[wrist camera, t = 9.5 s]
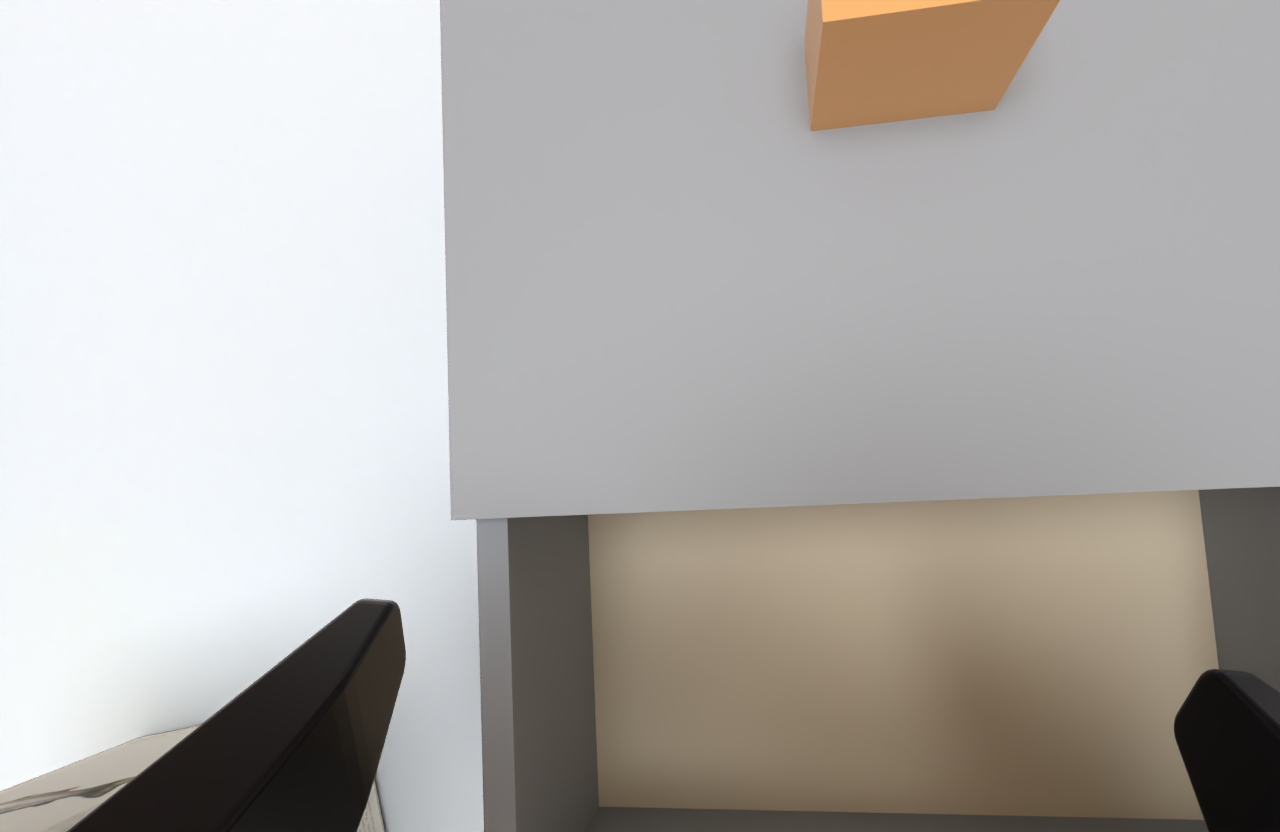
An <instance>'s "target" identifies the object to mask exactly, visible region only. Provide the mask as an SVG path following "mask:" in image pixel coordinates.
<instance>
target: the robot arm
mask: <svg viewBox="0 0 1280 832" xmlns="http://www.w3.org/2000/svg"><path fill="white" fill-rule="evenodd" d="M405 660H406V651H405V643H404V636H403V629H402V621H401V614H400V609H399V606H398V605H397V603H396V602H394V601H390V600H378V599H361V600H359V601H357V602H355V603H354V604H352V605H351V606H350V607H349V608H347V609H346V610H345V611H344V612H342V613H341V614H340V615H339V616H337V617H336V618H335V619H334V620H332V621H331V622H330V623H328V624H327V625H326V626H325V627H323V628H322V629H321V630H320V631H318V632H317V633H316V634H315V635H313V636H312V637H311V638H310V639H308V640H307V641H306V642H305V643H303V644H302V645H301V646H299V647H298V648H297V649H296V650H294V651H293V652H292V653H291V654H289V655H288V656H287V657H286V658H284V659H283V660H282V661H281V662H279V663H278V664H277V665H276V666H274V667H273V668H272V669H270V670H269V671H268V672H267V673H265V674H264V675H263V676H262V677H260V678H259V679H258V680H257V681H255V682H254V683H253V684H252V685H250V686H249V687H248V688H247V689H245V690H244V691H243V692H241V693H240V694H239V695H238V696H236V697H235V698H234V699H233V700H231V701H230V702H229V703H228V704H226V705H225V706H224V707H223V708H221V709H220V710H219V711H217V712H216V713H215V714H214V715H212V716H211V717H210V718H209V719H207V720H206V721H205V722H204V723H202V724H201V725H200V726H199V727H197V728H196V729H195V730H194V731H192V732H191V733H190V734H188V735H187V736H186V737H185V738H183V739H182V740H181V741H180V742H178V743H177V744H176V745H175V746H173V747H172V748H171V749H170V750H168V751H167V752H166V753H165V754H163V755H162V756H161V757H159V758H158V759H157V760H156V761H154V762H153V763H152V764H151V765H149V766H148V767H147V768H146V769H144V770H143V771H142V772H141V773H139V774H138V775H137V776H136V777H134V778H133V779H132V780H130V781H129V782H128V783H127V784H125V785H124V786H123V787H122V788H120V789H119V790H118V791H117V792H115V793H114V794H113V795H112V796H110V797H109V798H108V799H107V800H105V801H104V802H103V803H101V804H100V805H99V806H98V807H96V808H95V809H94V810H93V811H91V812H90V813H89V814H88V815H86V816H85V817H84V818H83V819H81V820H80V821H79V822H77V823H76V824H75V825H74V826H72V827H71V828H70V829H69V830H67V831H66V832H357V830H358V827H359V824H360V822H361V819H362V816H363V814H364V811H365V808H366V805H367V802H368V799H369V796H370V792H371V789H372V785H373V782H374V778H375V775H376V771H377V768H378V764H379V760H380V757H381V753H382V749H383V746H384V742H385V739H386V735H387V731H388V728H389V724H390V720H391V717H392V713H393V709H394V706H395V702H396V699H397V695H398V691H399V688H400V684H401V680H402V677H403V673H404V668H405ZM1174 735H1175V739H1176V743H1177V745H1178V748H1179V751H1180V754H1181V757H1182V759H1183V762H1184V765H1185V768H1186V770H1187V773H1188V776H1189V779H1190V782H1191V784H1192V787H1193V790H1194V793H1195V795H1196V798H1197V801H1198V804H1199V806H1200V809H1201V812H1202V815H1203V818H1204V820H1205V823H1206V826H1207V829H1208V831H1209V832H1280V692H1279V691H1277V690H1276V689H1274V688H1273V687H1272V686H1270V685H1269V684H1267V683H1266V682H1264V681H1263V680H1261V679H1260V678H1258V677H1256V676H1255V675H1253V674H1251V673H1248V672H1244V671H1234V670H1222V669H1209V670H1207V671H1205V672H1204V673H1202V674H1201V675H1200V677H1199V678H1198V680H1197V681H1196V683H1195V685H1194V686H1193V688H1192V689H1191V691H1190V693H1189V694H1188V696H1187V698H1186V699H1185V701H1184V703H1183V704H1182V706H1181V707H1180V709H1179V711H1178V712H1177V714H1176V716H1175V720H1174Z"/></svg>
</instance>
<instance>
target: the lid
mask: <svg viewBox="0 0 1280 832" xmlns="http://www.w3.org/2000/svg"><path fill="white" fill-rule="evenodd" d="M440 22H441V68H442V115H443V161H444V208H445V254H446V301H447V347H448V394H449V440H450V487H451V520H466V519H491V518H516V517H540V516H565V515H589V514H614V513H639V512H663V511H688V510H712V509H737V508H762V507H786V506H811V505H835V504H860V503H885V502H909V501H934V500H959V499H983V498H1008V497H1032V496H1057V495H1082V494H1106V493H1131V492H1155V491H1180V490H1205V489H1229V488H1254V487H1278V486H1280V0H440Z"/></svg>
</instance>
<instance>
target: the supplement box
mask: <svg viewBox="0 0 1280 832" xmlns="http://www.w3.org/2000/svg"><path fill="white" fill-rule="evenodd" d="M199 726H200V725H199ZM199 726H194V727H190V728H185V729H180V730H175V731H170V732H165V733H160V734H155V735H149V736H144V737H139V738H136V739H134V740H131V741H128V742H126V743H123V744H121V745H119V746H116V747H114V748H111V749H109V750H106V751H103V752H101V753H98V754H96V755H93V756H90V757H88V758H85V759H83V760H80V761H77V762H75V763H72V764H70V765H67V766H65V767H62V768H60V769H57V770H55V771H52V772H49V773H47V774H44V775H41V776H39V777H36V778H34V779H31V780H28V781H26V782H23V783H21V784H18V785H16V786H13V787H11V788H8V789H5V790H3V791H0V832H66V831H67V830H69V829H70V828H71V827H72V826H74V825H75V824H76V823H77V822H79V821H80V820H81V819H83V818H84V817H85V816H86V815H88V814H89V813H90V812H91V811H93V810H94V809H95V808H96V807H98V806H99V805H100V804H101V803H103V802H104V801H105V800H107V799H108V798H109V797H110V796H112V795H113V794H114V793H115V792H117V791H118V790H119V789H120V788H122V787H123V786H124V785H125V784H127V783H128V782H129V781H130V780H132V779H133V778H134V777H136V776H137V775H138V774H139V773H141V772H142V771H143V770H144V769H146V768H147V767H148V766H149V765H151V764H152V763H153V762H154V761H156V760H157V759H158V758H159V757H161V756H162V755H163V754H165V753H166V752H167V751H168V750H170V749H171V748H172V747H173V746H175V745H176V744H177V743H178V742H180V741H181V740H182V739H183V738H185V737H186V736H187V735H188V734H190V733H191V732H192V731H194V730H195V729H196V728H197V727H199ZM357 832H385V830H384V826H383V821H382V815H381V810H380V804H379V799H378V794H377V790H376V785H375V780H374V782H373V785H372V789H371V792H370V796H369V799H368V802H367V805H366V808H365V811H364V814H363V816H362V819H361V822H360V824H359V827H358V830H357Z"/></svg>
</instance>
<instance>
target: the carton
mask: <svg viewBox="0 0 1280 832" xmlns="http://www.w3.org/2000/svg"><path fill="white" fill-rule="evenodd" d="M477 557H478V598H479V639H480V679H481V720H482V760H483V801H484V832H1209V831H1208V829H1207V826H1206V823H1205V820H1204V818H1203V815H1202V812H1201V809H1200V806H1199V804H1198V801H1197V798H1196V795H1195V793H1194V790H1193V787H1192V784H1191V782H1190V779H1189V776H1188V773H1187V770H1186V768H1185V765H1184V762H1183V759H1182V757H1181V754H1180V751H1179V748H1178V745H1177V743H1176V739H1175V735H1174V720H1175V716H1176V714H1177V712H1178V711H1179V709H1180V707H1181V706H1182V704H1183V703H1184V701H1185V699H1186V698H1187V696H1188V694H1189V693H1190V691H1191V689H1192V688H1193V686H1194V685H1195V683H1196V681H1197V680H1198V678H1199V677H1200V675H1201V674H1202V673H1204V672H1205V671H1207V670H1209V669H1222V670H1234V671H1244V672H1248V673H1251V674H1253V675H1255V676H1256V677H1258V678H1260V679H1261V680H1263V681H1264V682H1266V683H1267V684H1269V685H1270V686H1272V687H1273V688H1274V689H1276V690H1277V691H1279V692H1280V486H1278V487H1254V488H1229V489H1205V490H1180V491H1155V492H1131V493H1106V494H1082V495H1057V496H1032V497H1008V498H983V499H959V500H934V501H909V502H885V503H860V504H835V505H811V506H786V507H762V508H737V509H712V510H688V511H663V512H639V513H614V514H589V515H565V516H540V517H516V518H491V519H477Z"/></svg>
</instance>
